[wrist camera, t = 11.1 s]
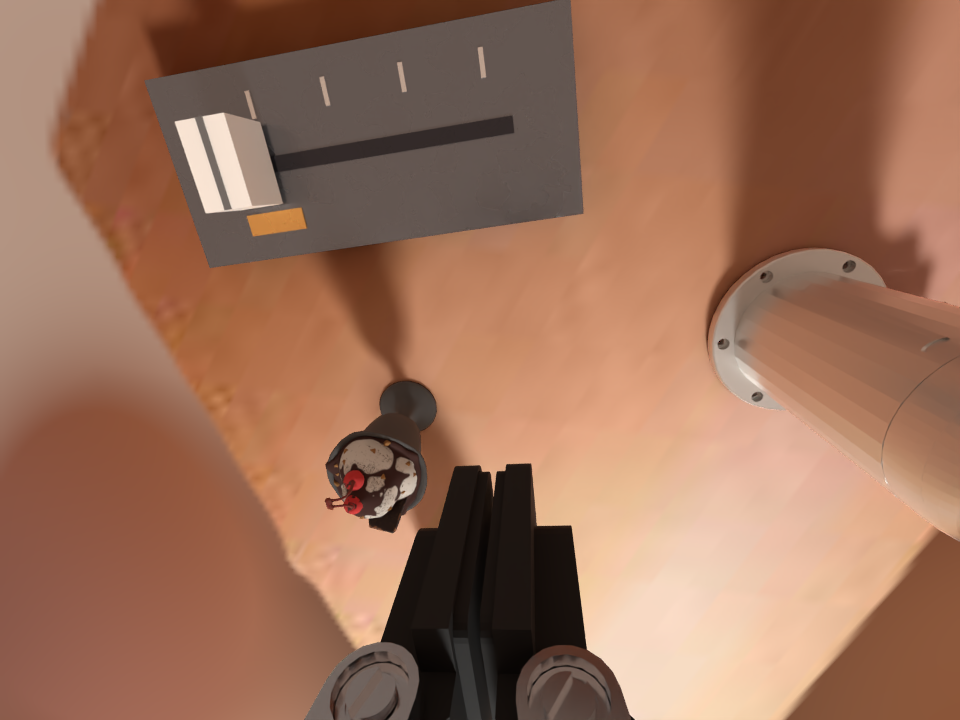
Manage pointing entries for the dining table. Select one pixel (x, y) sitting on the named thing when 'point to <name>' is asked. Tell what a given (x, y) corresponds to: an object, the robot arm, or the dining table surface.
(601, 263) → the dining table surface
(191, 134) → the fader
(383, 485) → the sundae
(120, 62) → the dining table surface
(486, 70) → the dimmer panel
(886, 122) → the dining table surface
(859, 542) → the dining table surface
